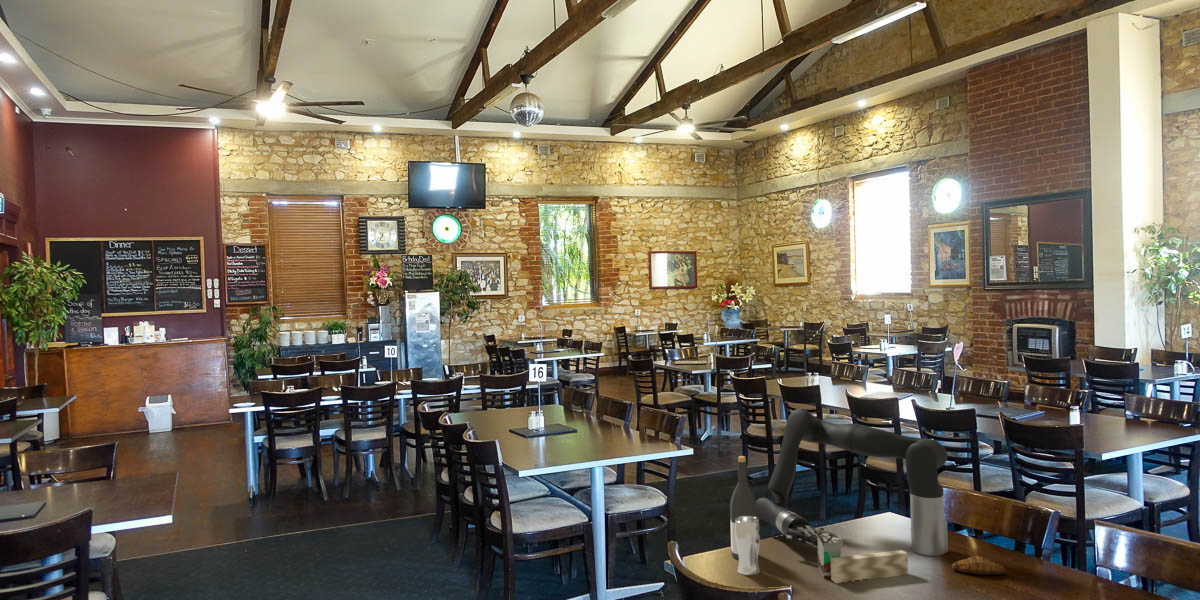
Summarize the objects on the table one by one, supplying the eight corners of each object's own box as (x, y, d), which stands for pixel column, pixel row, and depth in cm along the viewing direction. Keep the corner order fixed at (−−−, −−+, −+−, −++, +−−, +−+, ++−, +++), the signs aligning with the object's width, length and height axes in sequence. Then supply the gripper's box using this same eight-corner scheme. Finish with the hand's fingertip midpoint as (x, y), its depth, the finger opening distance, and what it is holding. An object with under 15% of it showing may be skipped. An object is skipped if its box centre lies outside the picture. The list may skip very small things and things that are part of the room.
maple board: (902, 571, 206) (901, 550, 206) (907, 574, 203) (907, 553, 203) (831, 579, 201) (830, 558, 201) (835, 583, 199) (835, 561, 199)
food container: (847, 581, 200) (847, 544, 200) (824, 580, 201) (824, 544, 201) (838, 564, 212) (838, 529, 212) (817, 563, 213) (816, 529, 213)
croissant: (954, 576, 202) (954, 558, 202) (949, 567, 208) (949, 549, 208) (1009, 579, 198) (1008, 561, 198) (1002, 570, 205) (1002, 552, 205)
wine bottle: (728, 559, 219) (725, 458, 219) (734, 550, 227) (731, 453, 226) (755, 561, 216) (752, 460, 216) (760, 552, 223) (757, 454, 223)
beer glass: (762, 568, 211) (760, 516, 211) (759, 577, 204) (758, 523, 204) (738, 566, 213) (736, 514, 213) (734, 574, 207) (732, 521, 206)
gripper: (772, 515, 228) (798, 532, 211) (811, 511, 230) (840, 528, 213) (772, 539, 228) (799, 558, 211) (812, 535, 230) (841, 554, 213)
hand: (819, 543), depth 212 cm, fingers closed
